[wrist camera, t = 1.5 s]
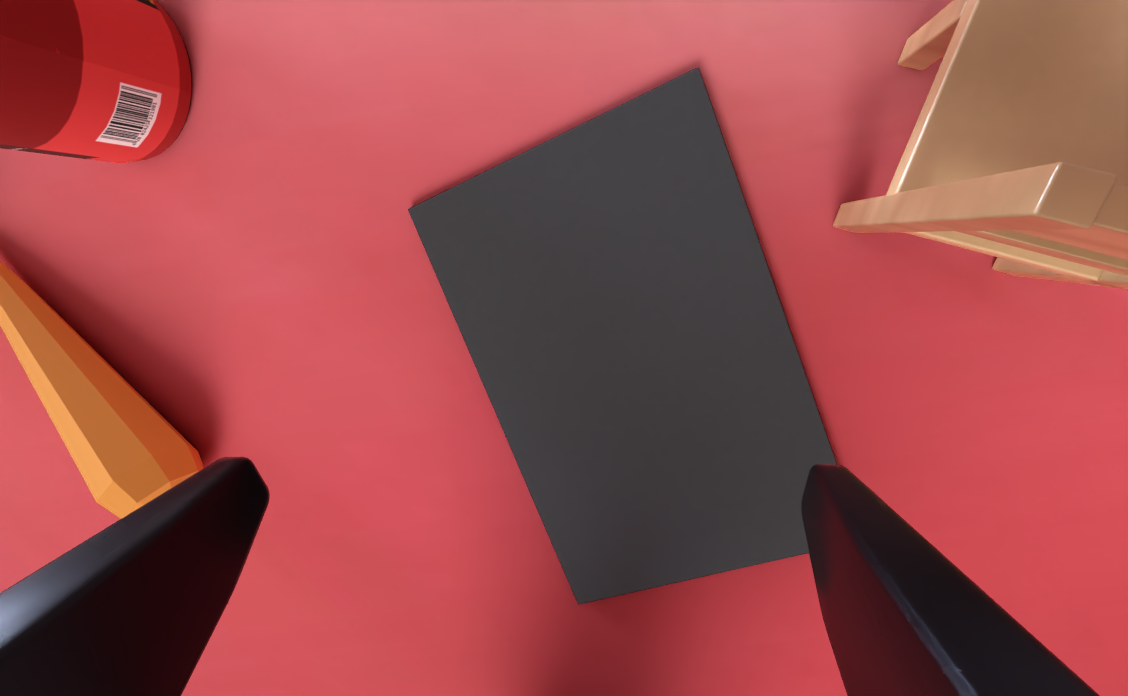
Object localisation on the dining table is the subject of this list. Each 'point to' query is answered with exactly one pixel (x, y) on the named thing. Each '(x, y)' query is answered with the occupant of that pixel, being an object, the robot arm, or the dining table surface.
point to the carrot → (93, 406)
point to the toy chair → (1018, 140)
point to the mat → (634, 345)
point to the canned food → (91, 78)
